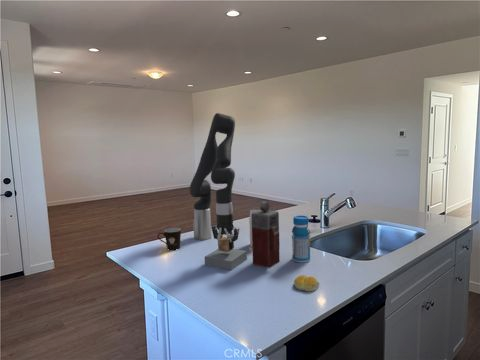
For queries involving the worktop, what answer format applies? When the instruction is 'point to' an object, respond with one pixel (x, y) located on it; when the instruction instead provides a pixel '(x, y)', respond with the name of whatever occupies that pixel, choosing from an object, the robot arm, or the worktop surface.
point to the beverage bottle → (301, 239)
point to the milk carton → (251, 225)
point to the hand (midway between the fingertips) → (226, 248)
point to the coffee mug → (172, 238)
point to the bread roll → (306, 283)
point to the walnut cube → (223, 244)
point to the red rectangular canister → (265, 236)
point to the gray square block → (226, 259)
